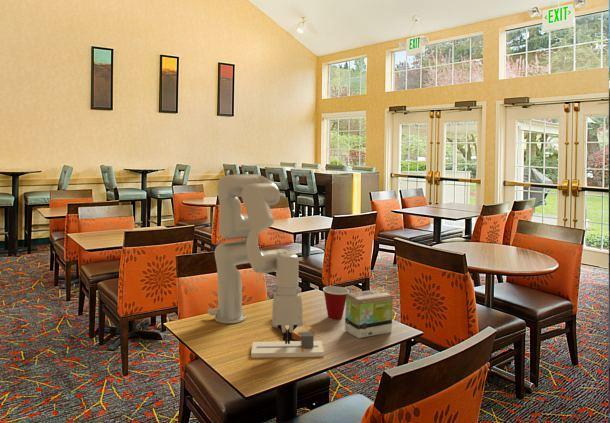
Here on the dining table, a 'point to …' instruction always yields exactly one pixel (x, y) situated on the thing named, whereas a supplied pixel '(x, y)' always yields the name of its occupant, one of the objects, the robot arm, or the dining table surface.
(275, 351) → the console board
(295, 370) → the dining table surface
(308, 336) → the slider tab
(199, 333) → the dining table surface
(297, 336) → the bread slice
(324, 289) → the plastic cup
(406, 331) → the dining table surface
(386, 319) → the tea box
